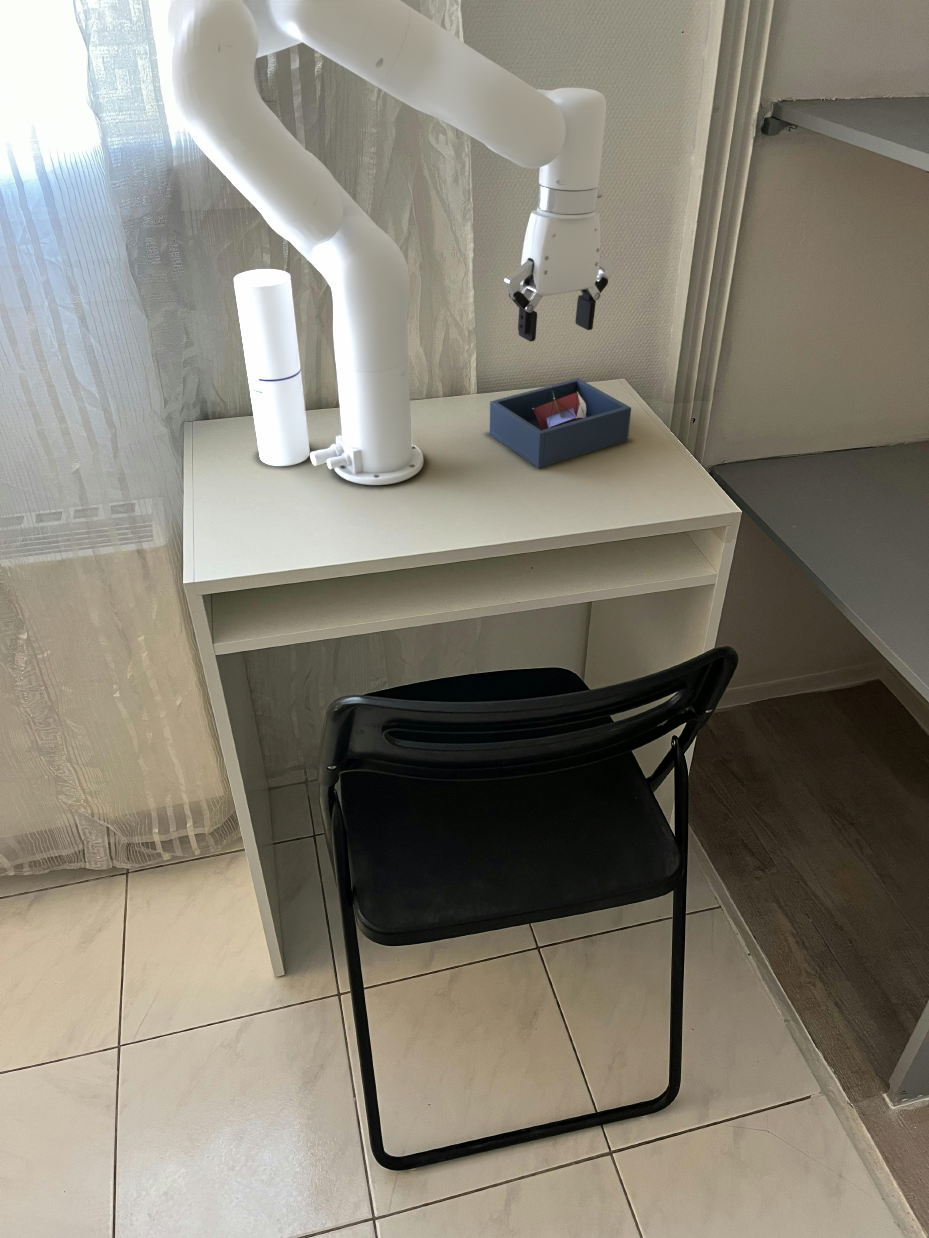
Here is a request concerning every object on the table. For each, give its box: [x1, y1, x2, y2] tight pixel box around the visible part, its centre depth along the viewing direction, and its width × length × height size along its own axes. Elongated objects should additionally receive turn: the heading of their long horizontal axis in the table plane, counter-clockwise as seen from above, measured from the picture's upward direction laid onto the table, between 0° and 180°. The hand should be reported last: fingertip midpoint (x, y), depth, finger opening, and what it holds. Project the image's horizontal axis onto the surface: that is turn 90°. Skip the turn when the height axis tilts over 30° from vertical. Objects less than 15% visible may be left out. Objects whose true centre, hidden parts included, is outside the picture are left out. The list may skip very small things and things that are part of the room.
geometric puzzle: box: [533, 385, 586, 431], centre depth 136 cm, size 7×7×8 cm
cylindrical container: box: [233, 268, 311, 467], centre depth 127 cm, size 7×7×25 cm
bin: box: [489, 378, 632, 469], centre depth 137 cm, size 16×13×5 cm
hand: (555, 332), depth 129 cm, fingers open, 9 cm apart
